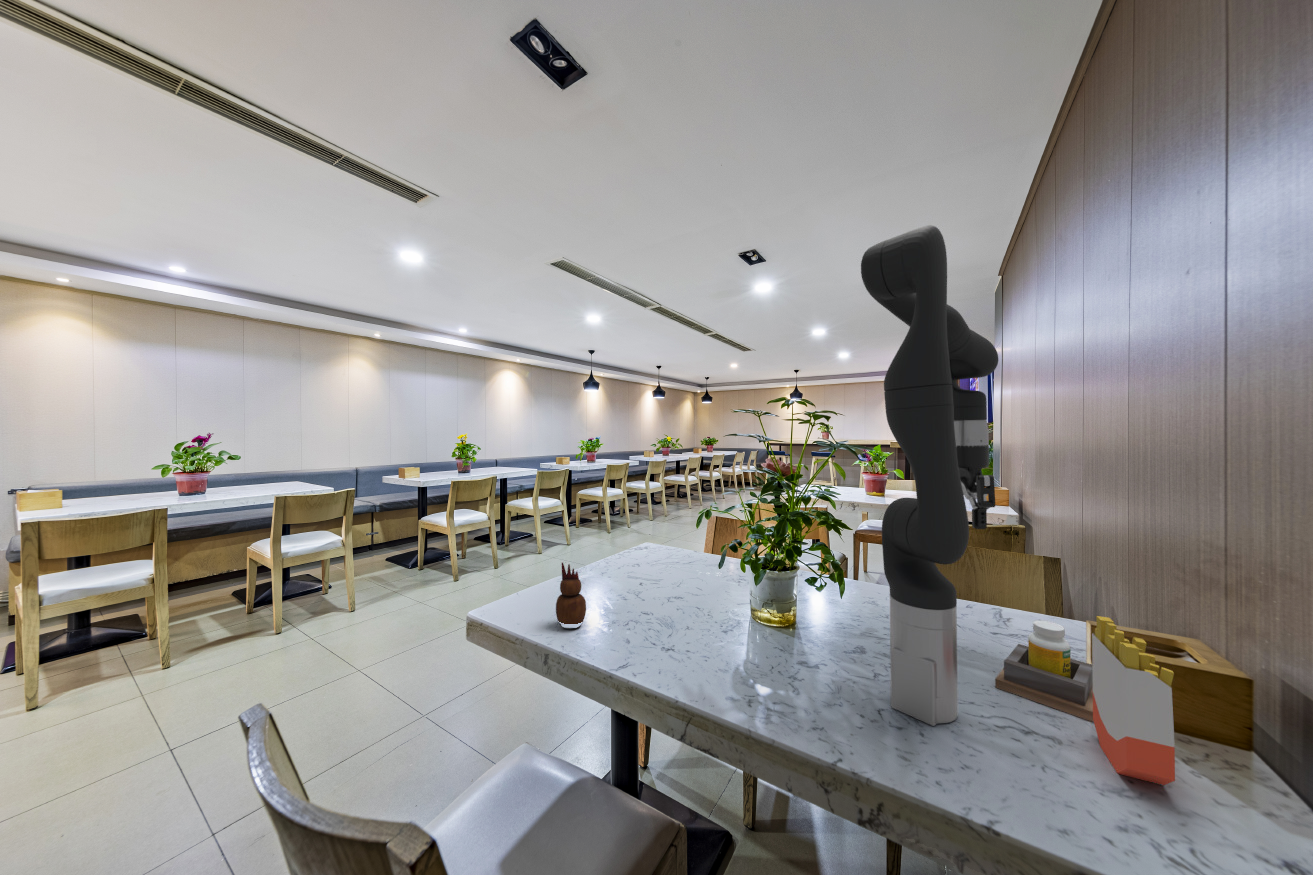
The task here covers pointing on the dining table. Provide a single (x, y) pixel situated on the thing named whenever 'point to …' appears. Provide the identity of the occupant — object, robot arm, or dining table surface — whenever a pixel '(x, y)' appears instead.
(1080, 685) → the collar stand
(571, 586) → the wooden figurine
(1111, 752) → the french fries container
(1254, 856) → the dining table surface
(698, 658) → the dining table surface
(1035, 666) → the supplement bottle
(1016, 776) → the dining table surface
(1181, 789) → the dining table surface
